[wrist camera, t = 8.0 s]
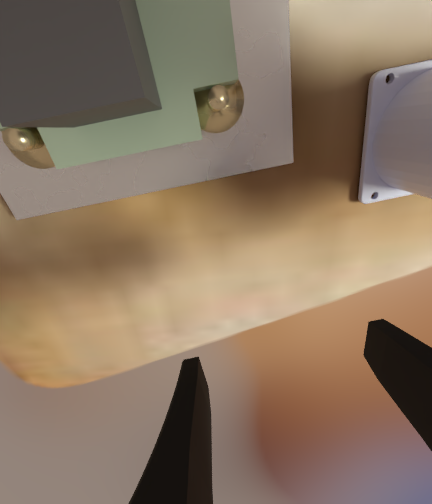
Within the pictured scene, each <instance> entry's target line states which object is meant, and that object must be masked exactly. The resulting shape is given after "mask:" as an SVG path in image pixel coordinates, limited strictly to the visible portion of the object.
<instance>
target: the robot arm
mask: <svg viewBox="0 0 432 504" xmlns="http://www.w3.org/2000/svg"><path fill="white" fill-rule="evenodd" d="M387 75H389V78H390V79H389V82H388V83H386V76H387ZM374 192H375V194H374V196H373V197H372V198H371V196H372V194H373V193H374ZM411 194H417V195H420V196H424V197H427V198H431V199H432V60H427V61H423V62H418V63H413V64H408V65H403V66H399V67H394V68H389V69H384V70H380V71H378V72H375V73H374V74H373V75H372V77H371V79H370V82H369V91H368V101H367V111H366V122H365V132H364V142H363V153H362V163H361V173H360V184H359V194H358V200H359V201H360V202H361V203H364V204H368V203H373V202H377V201H382V200H387V199H392V198H397V197H402V196H406V195H411ZM364 357H365V359H366V360H367V362H368V364H369V365H370V367H371V369H372V370H373V372H374V374H375V375H376V377H377V379H378V380H379V381H380V383H381V384H382V386H383V387H384V388H385V390H386V391H387V392H388V393H389V395H390V396H391V398H392V399H393V400H394V402H395V403H396V404H397V405H398V407H399V408H400V409H401V411H402V412H403V413H404V415H405V416H406V417H407V419H408V420H409V421H410V423H411V424H412V425H413V427H414V428H415V429H416V431H417V432H418V433H419V434H420V436H421V437H422V438H423V440H424V441H425V443H426V444H427V445H428V447H429V448H430V449H431V451H432V348H431V347H429V346H428V345H426V344H424V343H423V342H421V341H419V340H418V339H416V338H414V337H413V336H411V335H409V334H408V333H406V332H404V331H403V330H401V329H399V328H398V327H396V326H394V325H393V324H391V323H389V322H388V321H386V320H384V319H381V320H376V321H370V322H369V323H368V330H367V336H366V342H365V349H364ZM211 442H212V441H211V408H210V399H209V389H208V385H207V381H206V378H205V375H204V372H203V369H202V366H201V363H200V360H199V357H195V358H191V359H185V360H184V361H183V362H182V366H181V370H180V374H179V378H178V381H177V385H176V388H175V392H174V395H173V398H172V401H171V404H170V407H169V410H168V412H167V415H166V419H165V421H164V424H163V426H162V429H161V432H160V434H159V437H158V439H157V442H156V444H155V447H154V449H153V452H152V454H151V457H150V459H149V461H148V463H147V466H146V468H145V470H144V472H143V475H142V477H141V479H140V481H139V483H138V486H137V488H136V490H135V492H134V494H133V496H132V498H131V500H130V502H129V504H213V494H212V451H211V450H212V446H211V444H212V443H211Z"/></svg>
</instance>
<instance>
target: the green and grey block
mask: <svg viewBox="0 0 432 504" xmlns="http://www.w3.org/2000/svg"><path fill="white" fill-rule="evenodd" d="M238 79H239V78H238V69H237V61H236V52H235V43H234V34H233V26H232V17H231V8H230V0H0V131H4V130H6V129H8V128H25V127H37V129H38V131H39V133H40V135H41V137H42V139H43V141H44V143H45V145H46V148H47V150H48V152H49V154H50V156H51V158H52V160H53V162H54V164H55V166H56V169H62V168H67V167H72V166H76V165H81V164H86V163H91V162H96V161H100V160H105V159H110V158H115V157H120V156H124V155H129V154H134V153H139V152H144V151H148V150H153V149H158V148H163V147H168V146H172V145H177V144H182V143H187V142H192V141H196V140H201V139H203V138H202V133H201V127H200V122H199V117H198V112H197V106H196V101H195V96H194V92H198V91H203V90H207V89H211V88H212V87H214V86H215V85H222V86H227V85H231V84H235V83H236V82H237V80H238Z"/></svg>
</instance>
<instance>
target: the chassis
mask: <svg viewBox="0 0 432 504" xmlns="http://www.w3.org/2000/svg"><path fill="white" fill-rule="evenodd" d="M230 8H231V17H232V26H233V34H234V43H235V52H236V61H237V69H238V78H239V79H238V80H237V82H236V83H235V84H231V85H227V86H222V85H215V86H214V87H212V88H211V89H207V90H203V91H198V92H194V96H195V101H196V106H197V112H198V117H199V122H200V127H201V133H202V138H203V139H201V140H196V141H192V142H187V143H182V144H177V145H172V146H168V147H163V148H158V149H153V150H148V151H144V152H139V153H134V154H129V155H124V156H120V157H115V158H110V159H105V160H100V161H96V162H91V163H86V164H81V165H76V166H72V167H67V168H62V169H56V166H55V164H54V162H53V160H52V158H51V156H50V154H49V152H48V150H47V148H46V145H45V143H44V141H43V139H42V137H41V135H40V133H39V131H38V129H37V127H25V128H8V129H6V130H4V131H0V193H1V195H2V197H3V198H4V200H5V202H6V203H7V205H8V207H9V208H10V210H11V211H12V213H13V215H14V216H15V218H16V220H20V219H25V218H30V217H34V216H39V215H44V214H49V213H54V212H58V211H63V210H68V209H73V208H78V207H83V206H87V205H92V204H97V203H102V202H107V201H112V200H116V199H121V198H126V197H131V196H136V195H140V194H145V193H150V192H155V191H160V190H165V189H169V188H174V187H179V186H184V185H189V184H193V183H198V182H203V181H208V180H213V179H218V178H222V177H227V176H232V175H237V174H242V173H247V172H251V171H256V170H261V169H266V168H271V167H275V166H280V165H285V164H290V163H293V129H292V95H291V61H290V28H289V0H230Z"/></svg>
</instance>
